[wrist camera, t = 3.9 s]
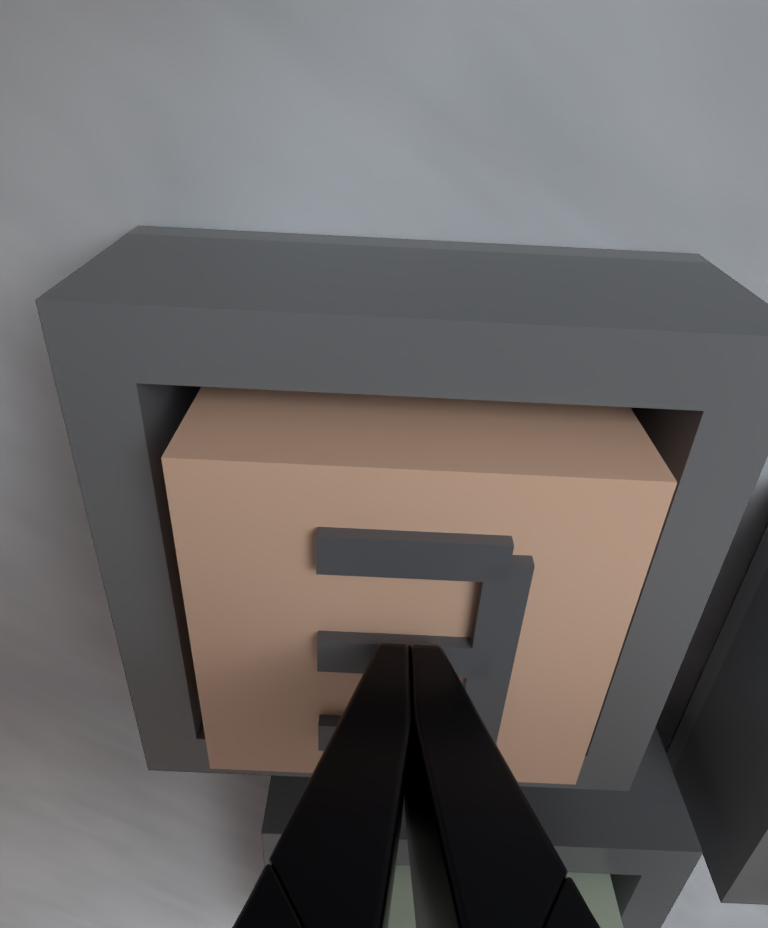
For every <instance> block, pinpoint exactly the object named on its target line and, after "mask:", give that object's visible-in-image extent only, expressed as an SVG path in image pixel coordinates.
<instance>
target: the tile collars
mask: <svg viewBox="0 0 768 928" xmlns="http://www.w3.org/2000/svg"><path fill="white" fill-rule="evenodd" d="M35 301H36V305H37V309H38V313H39V317H40V321H41V326H42V330H43V334H44V338H45V342H46V346H47V351H48V355H49V359H50V363H51V367H52V371H53V375H54V380H55V384H56V388H57V392H58V396H59V400H60V405H61V409H62V413H63V417H64V421H65V425H66V430H67V434H68V438H69V442H70V446H71V450H72V455H73V459H74V463H75V467H76V471H77V475H78V479H79V484H80V488H81V492H82V496H83V500H84V504H85V509H86V513H87V517H88V521H89V525H90V529H91V534H92V538H93V542H94V546H95V550H96V554H97V559H98V563H99V567H100V571H101V575H102V579H103V583H104V588H105V592H106V596H107V600H108V604H109V608H110V613H111V617H112V621H113V625H114V629H115V633H116V638H117V642H118V646H119V650H120V654H121V658H122V663H123V667H124V671H125V675H126V679H127V683H128V687H129V692H130V696H131V700H132V704H133V708H134V712H135V717H136V721H137V725H138V729H139V733H140V737H141V742H142V746H143V750H144V754H145V758H146V762H147V767H148V770H158V771H181V772H204V773H227V774H250V775H271V781H270V786H269V792H268V798H267V804H266V809H265V815H264V821H263V827H262V833H261V835H262V845H263V855H264V866H265V865H267V864H269V858H270V856H271V854H272V852H273V850H274V848H275V846H276V844H277V842H278V840H279V838H280V836H281V834H282V832H283V830H284V828H285V826H286V824H287V822H288V821H289V819H290V817H291V815H292V813H293V811H294V809H295V807H296V805H297V803H298V801H299V799H300V797H301V795H302V793H303V791H304V789H305V787H306V785H307V783H308V781H309V779H310V777H311V775H312V773H299V772H276V771H253V770H230V769H210V765H209V758H208V752H207V746H206V739H205V733H204V727H203V720H202V714H201V708H200V701H199V695H198V689H197V682H196V676H195V670H194V663H193V657H192V650H191V644H190V638H189V631H188V625H187V619H186V612H185V606H184V600H183V593H182V587H181V581H180V574H179V568H178V562H177V555H176V549H175V543H174V536H173V530H172V524H171V517H170V511H169V504H168V498H167V492H166V485H165V479H164V473H163V466H162V460H161V457H162V455H163V454H164V452H165V450H166V448H167V446H168V445H169V443H170V441H171V439H172V438H173V436H174V434H175V432H176V431H177V429H178V427H179V425H180V424H181V422H182V420H183V418H184V416H185V415H186V413H187V411H188V409H189V408H190V406H191V404H192V402H193V401H194V399H195V397H196V395H197V393H198V392H199V390H200V388H201V387H220V388H241V389H262V390H282V391H303V392H324V393H344V394H365V395H386V396H406V397H427V398H448V399H468V400H489V401H509V402H530V403H551V404H571V405H592V406H613V407H630V408H631V409H632V411H633V412H634V414H635V416H636V417H637V419H638V420H639V422H640V424H641V425H642V427H643V428H644V430H645V432H646V433H647V435H648V436H649V438H650V439H651V441H652V443H653V444H654V446H655V447H656V449H657V451H658V452H659V454H660V455H661V457H662V459H663V460H664V462H665V463H666V465H667V467H668V468H669V470H670V471H671V473H672V474H673V476H674V478H675V479H676V481H677V485H676V488H675V491H674V494H673V497H672V500H671V503H670V506H669V509H668V511H667V514H666V517H665V520H664V523H663V526H662V529H661V532H660V535H659V538H658V541H657V544H656V547H655V550H654V553H653V556H652V559H651V562H650V565H649V568H648V571H647V574H646V577H645V580H644V583H643V586H642V589H641V592H640V595H639V598H638V601H637V603H636V606H635V609H634V612H633V615H632V618H631V621H630V624H629V627H628V630H627V633H626V636H625V639H624V642H623V645H622V648H621V651H620V654H619V657H618V660H617V663H616V666H615V669H614V672H613V675H612V678H611V681H610V684H609V687H608V690H607V692H606V695H605V698H604V701H603V704H602V707H601V710H600V713H599V716H598V719H597V722H596V725H595V728H594V731H593V734H592V737H591V740H590V743H589V746H588V749H587V752H586V755H585V758H584V761H583V764H582V767H581V770H580V773H579V776H578V779H577V781H576V784H575V785H574V784H551V783H528V782H518V784H519V786H520V787H521V789H522V791H523V793H524V794H525V796H526V798H527V800H528V802H529V803H530V805H531V807H532V809H533V810H534V812H535V814H536V816H537V818H538V819H539V821H540V823H541V825H542V826H543V828H544V830H545V832H546V834H547V835H548V837H549V839H550V841H551V842H552V844H553V846H554V848H555V850H556V851H557V853H558V855H559V857H560V858H561V860H562V862H563V864H564V866H565V867H566V869H567V872H572V873H595V874H610V877H611V881H612V885H613V889H614V892H615V896H616V900H617V904H618V908H619V912H620V916H621V920H622V924H623V928H661V926H662V924H663V923H664V921H665V919H666V917H667V915H668V914H669V912H670V910H671V908H672V907H673V905H674V903H675V901H676V899H677V898H678V896H679V894H680V892H681V891H682V889H683V887H684V885H685V883H686V882H687V880H688V878H689V876H690V875H691V873H692V871H693V869H694V867H695V866H696V864H697V862H698V860H699V859H700V857H701V855H702V853H703V856H704V859H705V861H706V864H707V867H708V869H709V872H710V875H711V877H712V880H713V883H714V885H715V888H716V891H717V893H718V896H719V899H720V901H721V903H740V904H764V905H768V525H767V528H766V530H765V532H764V534H763V537H762V539H761V541H760V543H759V546H758V548H757V550H756V553H755V555H754V557H753V559H752V562H751V564H750V566H749V568H748V571H747V573H746V575H745V577H744V580H743V582H742V584H741V586H740V589H739V591H738V593H737V595H736V598H735V600H734V602H733V604H732V607H731V609H730V611H729V614H728V616H727V618H726V620H725V623H724V625H723V627H722V629H721V632H720V634H719V636H718V638H717V641H716V643H715V645H714V647H713V650H712V652H711V654H710V656H709V659H708V661H707V663H706V666H705V668H704V670H703V672H702V675H701V677H700V679H699V681H698V684H697V686H696V688H695V690H694V693H693V695H692V697H691V699H690V702H689V704H688V706H687V708H686V711H685V713H684V715H683V717H682V720H681V722H680V724H679V727H678V729H677V731H676V733H675V736H674V738H673V740H672V742H671V745H670V747H669V749H668V751H667V754H666V752H665V749H664V747H663V744H662V741H661V739H660V736H659V733H658V731H657V728H656V724H657V722H658V719H659V717H660V715H661V712H662V710H663V707H664V705H665V703H666V700H667V698H668V695H669V693H670V690H671V688H672V686H673V683H674V681H675V678H676V676H677V674H678V671H679V669H680V666H681V664H682V661H683V659H684V657H685V654H686V652H687V649H688V647H689V644H690V642H691V640H692V637H693V635H694V632H695V630H696V628H697V625H698V623H699V620H700V618H701V615H702V613H703V611H704V608H705V606H706V603H707V601H708V599H709V596H710V594H711V591H712V589H713V586H714V584H715V582H716V579H717V577H718V574H719V572H720V570H721V567H722V565H723V562H724V560H725V557H726V555H727V553H728V550H729V548H730V545H731V543H732V540H733V538H734V536H735V533H736V531H737V528H738V526H739V524H740V521H741V519H742V516H743V514H744V511H745V509H746V507H747V504H748V502H749V499H750V497H751V495H752V492H753V490H754V487H755V485H756V482H757V480H758V478H759V475H760V473H761V470H762V468H763V466H764V463H765V461H766V458H767V456H768V304H767V303H766V302H764V301H763V300H762V299H760V298H759V297H758V296H756V295H755V294H753V293H752V292H751V291H749V290H748V289H746V288H745V287H744V286H742V285H741V284H739V283H738V282H737V281H735V280H734V279H732V278H731V277H730V276H728V275H727V274H726V273H724V272H723V271H721V270H720V269H719V268H717V267H716V266H714V265H713V264H712V263H710V262H709V261H707V260H706V259H705V258H703V257H702V256H700V255H699V254H688V253H668V252H648V251H628V250H608V249H588V248H569V247H549V246H529V245H509V244H489V243H469V242H450V241H430V240H410V239H390V238H370V237H350V236H331V235H311V234H291V233H271V232H251V231H231V230H211V229H192V228H172V227H152V226H137V227H136V228H135V229H133V230H132V231H130V232H129V233H128V234H126V235H125V236H124V237H122V238H121V239H119V240H118V241H117V242H115V243H114V244H112V245H111V246H110V247H108V248H107V249H105V250H104V251H103V252H101V253H100V254H98V255H97V256H96V257H94V258H93V259H92V260H90V261H89V262H87V263H86V264H85V265H83V266H82V267H80V268H79V269H78V270H76V271H75V272H73V273H72V274H71V275H69V276H68V277H67V278H65V279H64V280H62V281H61V282H60V283H58V284H57V285H55V286H54V287H53V288H51V289H50V290H48V291H47V292H46V293H44V294H43V295H42V296H40V297H39V298H37V299H36V300H35ZM396 865H407V866H410V863H409V853H408V843H407V834H406V822H405V809H404V804H403V813H402V823H401V832H400V839H399V847H398V854H397V862H396Z"/></svg>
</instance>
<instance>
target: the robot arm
mask: <svg viewBox="0 0 768 928" xmlns="http://www.w3.org/2000/svg"><path fill="white" fill-rule="evenodd" d="M403 804H404V809H405V822H406V834H407V843H408V853H409V863H410V873H411V882H412V892H413V902H414V912H415V921H416V928H600V926H599V924H598V923H597V921H596V919H595V918H594V916H593V914H592V913H591V911H590V909H589V908H588V906H587V904H586V902H585V900H584V899H583V897H582V895H581V893H580V892H579V890H578V888H577V886H576V884H575V883H574V881H573V879H572V878H571V877H566V876H567V873H568V872H567V869H566V867H565V866H564V864H563V862H562V860H561V858H560V857H559V855H558V853H557V851H556V850H555V848H554V846H553V844H552V842H551V841H550V839H549V837H548V835H547V834H546V832H545V830H544V828H543V826H542V825H541V823H540V821H539V819H538V818H537V816H536V814H535V812H534V810H533V809H532V807H531V805H530V803H529V802H528V800H527V798H526V796H525V794H524V793H523V791H522V789H521V787H520V786H519V784H518V782H517V780H516V778H515V777H514V775H513V773H512V771H511V770H510V768H509V766H508V764H507V762H506V761H505V759H504V757H503V755H502V754H501V752H500V750H499V748H498V746H497V745H496V743H495V741H494V739H493V738H492V736H491V734H490V732H489V730H488V729H487V727H486V725H485V723H484V722H483V720H482V718H481V716H480V714H479V713H478V711H477V709H476V707H475V706H474V704H473V702H472V700H471V698H470V697H469V695H468V693H467V691H466V690H465V688H464V686H463V684H462V682H461V681H460V679H459V677H458V675H457V674H456V672H455V670H454V668H453V667H452V665H451V663H450V661H449V659H448V658H447V656H446V654H445V652H444V651H443V649H442V648H441V646H439V645H438V644H426V643H413V644H412V645H411V646H410V649H409V646H408V644H407V643H404V642H381V643H379V645H378V646H377V648H376V649H375V651H374V653H373V655H372V657H371V659H370V661H369V663H368V665H367V667H366V669H365V671H364V673H363V675H362V677H361V679H360V681H359V683H358V685H357V687H356V689H355V691H354V693H353V695H352V697H351V699H350V701H349V703H348V704H347V706H346V708H345V710H344V712H343V714H342V716H341V718H340V720H339V722H338V724H337V726H336V728H335V730H334V732H333V734H332V736H331V738H330V740H329V742H328V744H327V746H326V748H325V750H324V752H323V754H322V756H321V758H320V760H319V762H318V763H317V765H316V767H315V769H314V771H313V773H312V775H311V777H310V779H309V781H308V783H307V785H306V787H305V789H304V791H303V793H302V795H301V797H300V799H299V801H298V803H297V805H296V807H295V809H294V811H293V813H292V815H291V817H290V819H289V821H288V822H287V824H286V826H285V828H284V830H283V832H282V834H281V836H280V838H279V840H278V842H277V844H276V846H275V848H274V850H273V852H272V854H271V856H270V858H269V864H267V865H265V867H264V869H263V871H262V873H261V875H260V877H259V879H258V881H257V883H256V885H255V887H254V888H253V890H252V892H251V894H250V896H249V898H248V900H247V902H246V904H245V905H244V907H243V909H242V911H241V913H240V915H239V916H238V918H237V920H236V922H235V924H234V926H233V927H232V928H388V923H389V916H390V908H391V900H392V893H393V885H394V877H395V870H396V862H397V854H398V847H399V839H400V832H401V823H402V813H403Z"/></svg>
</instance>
